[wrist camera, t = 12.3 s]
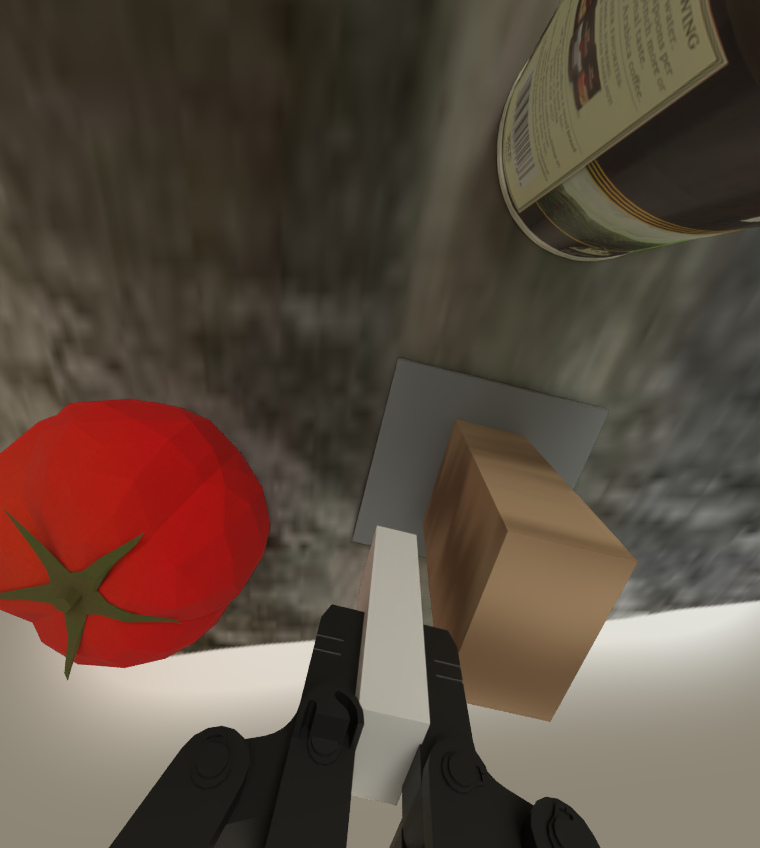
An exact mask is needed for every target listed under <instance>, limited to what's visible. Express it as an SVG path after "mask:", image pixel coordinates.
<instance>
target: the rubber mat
mask: <svg viewBox="0 0 760 848" xmlns="http://www.w3.org/2000/svg"><path fill="white" fill-rule="evenodd" d="M608 413H609V411H608V410H607V409H605V408H602V407H598V406H594V405H590V404H586V403H581V402H577V401H573V400H569V399H565V398H561V397H557V396H553V395H549V394H545V393H541V392H537V391H533V390H529V389H525V388H521V387H516V386H512V385H508V384H504V383H500V382H496V381H492V380H488V379H484V378H480V377H476V376H472V375H468V374H464V373H460V372H455V371H451V370H447V369H443V368H439V367H435V366H431V365H427V364H423V363H419V362H415V361H411V360H407V359H403V358H399V357H398V360H397V364H396V368H395V372H394V376H393V380H392V384H391V388H390V392H389V396H388V400H387V404H386V408H385V412H384V416H383V420H382V424H381V427H380V431H379V435H378V439H377V443H376V447H375V451H374V455H373V459H372V463H371V467H370V471H369V475H368V479H367V483H366V487H365V491H364V495H363V499H362V503H361V507H360V511H359V515H358V519H357V523H356V527H355V531H354V535H353V540H352V541H354V542H358V543H362V544H367V545H371V544H372V541H373V537H374V534H375V530H376V527H377V526H381V527H385V528H390V529H394V530H398V531H402V532H406V533H410V534H415V535H416V536H417V550H418V557H423V558H426V549H425V540H424V530H423V520H424V517H425V514H426V511H427V508H428V504H429V501H430V498H431V495H432V492H433V489H434V486H435V482H436V479H437V476H438V473H439V470H440V467H441V463H442V460H443V457H444V454H445V451H446V448H447V444H448V441H449V438H450V435H451V432H452V429H453V426H454V422H455V419H458V420H462V421H466V422H471V423H475V424H479V425H483V426H487V427H491V428H495V429H499V430H503V431H508V432H512V433H516V434H520V435H524V436H525V438H526V439H527V440H528V441H529V442H530V443H531V444H532V445H533V446H534V447H535V449H536V450H537V451H538V452H539V453H540V454H541V455H542V456H543V457H544V459H545V460H546V461H547V462H548V463H549V464H550V465H551V466H552V467H553V468H554V470H555V471H556V472H557V473H558V474H559V475H560V476H561V477H562V478H563V479H564V481H565V482H566V483H567V484H568V485H569V486H570V487H571V488H572V489H573V490H574V488H575V486H576V484H577V482H578V479H579V477H580V475H581V473H582V470H583V468H584V466H585V464H586V462H587V459H588V457H589V455H590V453H591V450H592V448H593V446H594V444H595V442H596V439H597V437H598V435H599V433H600V430H601V428H602V426H603V424H604V422H605V419H606V417H607V415H608Z"/></svg>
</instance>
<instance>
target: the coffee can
mask: <svg viewBox="0 0 760 848" xmlns="http://www.w3.org/2000/svg"><path fill="white" fill-rule="evenodd" d="M497 168H498V176H499V182H500V187H501V190H502V194H503V197H504V200H505V202H506V205H507V207H508V209H509V212H510V214H511V216H512V217H513V219H514V220H515V222H516V223H517V224H518V225H519V227H520V228H521V229H522V231H523V232H524V233H525V234H526V235H527V236H528V237H529V238H530V239H531V240H532V241H534V242H535V243H536V244H537V245H539V246H540V247H542V248H544V249H545V250H547V251H549V252H551V253H553V254H555V255H558V256H561V257H564V258H568V259H571V260H578V261H600V260H607V259H613V258H616V257H620V256H623V255H627V254H629V253H632V252H637V251H642V250H647V249H652V248H656V247H661V246H665V245H670V244H675V243H680V242H684V241H689V240H694V239H699V238H704V237H709V236H715V235H719V234H724V233H729V232H734V231H738V230H743V229H748V228H753V227H759V226H760V0H561V1H560V3H559V5H558V7H557V9H556V11H555V13H554V15H553V17H552V19H551V20H550V22H549V24H548V26H547V27H546V29H545V31H544V33H543V34H542V36H541V38H540V41H539V42H538V44H537V46H536V48H535V50H534V52H533V54H532V55H531V57H530V59H529V60H528V61H527V63H526V64H525V66H524V67H523V69H522V70H521V72H520V74H519V75H518V77H517V79H516V81H515V83H514V85H513V87H512V89H511V92H510V94H509V96H508V99H507V102H506V104H505V107H504V110H503V114H502V118H501V121H500V125H499V134H498V143H497Z"/></svg>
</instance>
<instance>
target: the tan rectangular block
mask: <svg viewBox="0 0 760 848" xmlns="http://www.w3.org/2000/svg"><path fill="white" fill-rule="evenodd" d="M423 530H424V540H425V549H426V559H427V569H428V578H429V588H430V598H431V607H432V617H433V627H436V628H440V629H444V630H448V631H449V633H450V635H451V637H452V639H453V640H454V642H455V644H456V646H457V649H458V655H459V661H460V668H461V673H462V679H463V680H462V683H463V685H464V691H465V697H466V703H468V704H473V705H477V706H482V707H487V708H491V709H495V710H500V711H504V712H509V713H513V714H518V715H523V716H527V717H531V718H536V719H540V720H545V721H549V722H550V721H551V720H552V717H553V716H554V714H555V712H556V710H557V709H558V707H559V705H560V703H561V701H562V700H563V698H564V696H565V694H566V692H567V690H568V689H569V687H570V685H571V683H572V681H573V679H574V678H575V676H576V674H577V672H578V670H579V668H580V667H581V665H582V663H583V661H584V659H585V658H586V656H587V654H588V652H589V650H590V648H591V647H592V645H593V643H594V641H595V639H596V638H597V636H598V634H599V632H600V630H601V629H602V627H603V625H604V623H605V621H606V619H607V618H608V616H609V614H610V612H611V610H612V609H613V607H614V605H615V603H616V601H617V599H618V598H619V596H620V594H621V592H622V590H623V588H624V587H625V585H626V583H627V581H628V579H629V578H630V576H631V574H632V572H633V570H634V568H635V567H636V565H637V563H638V561H637V560H636V559H635V558H634V557H633V556H632V554H631V553H630V552H629V551H628V550H627V549H626V548H625V547H624V546H623V545H622V543H621V542H620V541H619V540H618V539H617V538H616V537H615V536H614V535H613V534H612V532H611V531H610V530H609V529H608V528H607V527H606V526H605V525H604V524H603V522H602V521H601V520H600V519H599V518H598V517H597V516H596V515H595V514H594V513H593V511H592V510H591V509H590V508H589V507H588V506H587V505H586V504H585V503H584V502H583V500H582V499H581V498H580V497H579V496H578V495H577V494H576V493H575V492H574V491H573V489H572V488H571V487H570V486H569V485H568V484H567V483H566V482H565V481H564V479H563V478H562V477H561V476H560V475H559V474H558V473H557V472H556V471H555V470H554V468H553V467H552V466H551V465H550V464H549V463H548V462H547V461H546V460H545V459H544V457H543V456H542V455H541V454H540V453H539V452H538V451H537V450H536V449H535V447H534V446H533V445H532V444H531V443H530V442H529V441H528V440H527V439H526V438H525V436H524V435H520V434H516V433H512V432H508V431H503V430H499V429H495V428H491V427H487V426H483V425H479V424H475V423H471V422H466V421H462V420H458V419H455V422H454V426H453V429H452V432H451V435H450V438H449V441H448V444H447V448H446V451H445V454H444V457H443V460H442V463H441V467H440V470H439V473H438V476H437V479H436V482H435V486H434V489H433V492H432V495H431V498H430V501H429V504H428V508H427V511H426V514H425V517H424V520H423Z"/></svg>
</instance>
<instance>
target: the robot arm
mask: <svg viewBox="0 0 760 848" xmlns="http://www.w3.org/2000/svg"><path fill="white" fill-rule="evenodd" d="M462 680H463V679H462V673H461V668H460V661H459V655H458V649H457V646H456V644H455V642H454V640H453V639H452V637H451V635H450V633H449V631H448V630H444V629H440V628H436V627H431V626H427V625H423V619H422V605H421V591H420V577H419V564H418V550H417V536H416V535H415V534H410V533H406V532H402V531H398V530H394V529H390V528H385V527H381V526H377V527H376V530H375V534H374V537H373V541H372V544H371V548H370V552H369V555H368V559H367V562H366V566H365V569H364V573H363V577H362V580H361V584H360V590H359V598H358V605H357V610H353V609H349V608H345V607H340V606H336V605H331V606H330V607H329V608H328V610H327V611H326V612H325V613H324V614H323V616H322V617H321V621H320V625H319V629H318V633H317V637H316V641H315V645H314V649H313V653H312V657H311V661H310V665H309V669H308V673H307V677H306V681H305V686H304V690H303V693H302V698H301V702H300V705H299V708H298V710H297V713H296V714H295V716H294V717H293V719H292V720H291V721H290V722H289V723H288V724H287V725H286V726H285V727H284V728H282V729H281V730H279V731H277V732H275V733H273V734H269V735H266V736H261V737H256V738H249V739H244V738H243V737H242V736H241V735H240V734H239V733H238V732H237V731H236V730H235V729H231V728H228V727H224V726H218V727H212V728H207V729H205V730H203V731H202V732H200V733H198V734H196V735H194V736H193V737H192V738H191V739H190V740H189V741H188V742H187V743H186V744H185V745H184V746H183V747H182V749H181V750H180V751H179V753H178V754H177V755H176V757H175V758H174V759H173V761H172V762H171V764H170V765H169V766H168V768H167V769H166V770H165V772H164V773H163V775H162V776H161V777H160V779H159V780H158V782H157V783H156V784H155V786H154V787H153V788H152V790H151V791H150V792H149V794H148V795H147V796H146V798H145V799H144V801H143V802H142V803H141V805H140V806H139V807H138V809H137V810H136V811H135V813H134V814H133V815H132V817H131V818H130V820H129V821H128V822H127V824H126V825H125V827H124V828H123V829H122V831H121V832H120V833H119V835H118V836H117V837H116V839H115V840H114V841H113V843H112V844H111V846H110V847H109V848H346V843H347V832H348V823H349V813H350V801H351V795H352V796H356V797H361V798H365V799H370V800H375V801H379V802H384V803H389V804H393V805H397V803H398V800H399V798H400V795H401V793H402V817H403V818H402V820H401V822H400V824H399V827H398V829H397V831H396V834H395V836H394V838H393V841H392V843H391V845H390V848H600V846H599V844H598V843H597V841H596V839H595V837H594V835H593V834H592V832H591V831H590V829H589V828H588V826H587V824H586V823H585V821H584V820H583V819H582V818H581V817H580V816H579V815H578V814H577V813H576V812H575V811H574V810H573V809H572V808H571V807H570V806H568V805H567V804H565V803H564V802H562V801H560V800H559V799H556V798H550V797H544V798H542V799H540V800H538V801H536V803H535V805H532V804H530V803H529V802H527V801H525V800H524V799H522V798H521V797H519V796H517V795H516V794H514V793H513V792H511V791H509V790H508V789H506V788H505V787H503V786H502V785H501V784H499V783H498V782H497V781H496V780H495V779H494V778H493V777H492V776H491V775H490V774H489V773H488V772H487V769H486V766H485V765H484V763H483V762H482V760H481V759H480V757H479V755H478V754H477V753H476V751H475V747H474V743H473V739H472V733H471V727H470V721H469V715H468V710H467V703H466V697H465V691H464V685H463V683H462Z"/></svg>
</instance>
